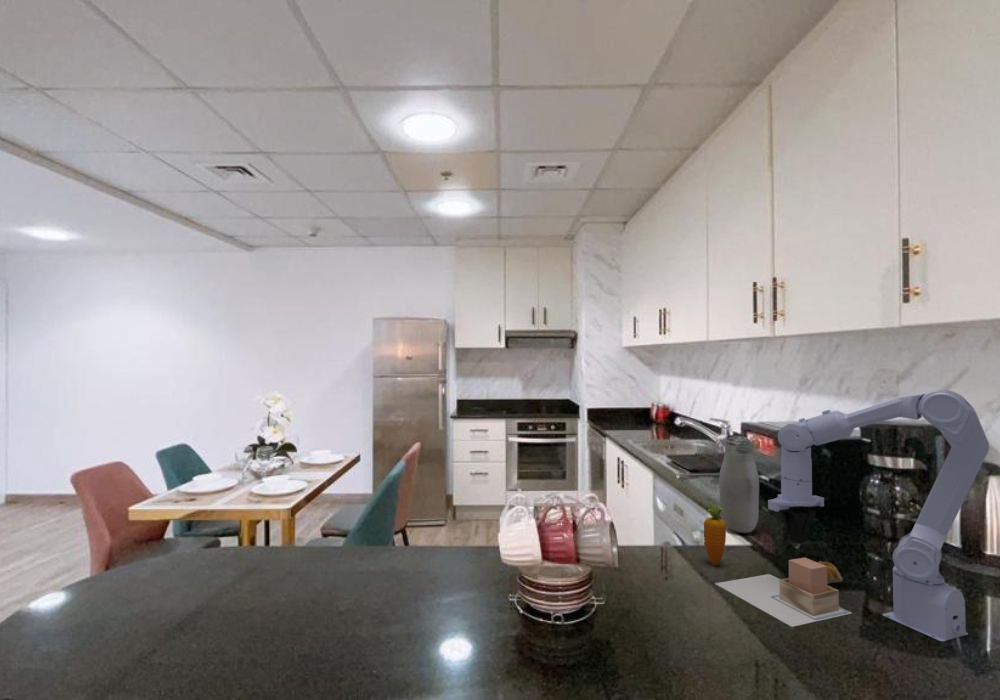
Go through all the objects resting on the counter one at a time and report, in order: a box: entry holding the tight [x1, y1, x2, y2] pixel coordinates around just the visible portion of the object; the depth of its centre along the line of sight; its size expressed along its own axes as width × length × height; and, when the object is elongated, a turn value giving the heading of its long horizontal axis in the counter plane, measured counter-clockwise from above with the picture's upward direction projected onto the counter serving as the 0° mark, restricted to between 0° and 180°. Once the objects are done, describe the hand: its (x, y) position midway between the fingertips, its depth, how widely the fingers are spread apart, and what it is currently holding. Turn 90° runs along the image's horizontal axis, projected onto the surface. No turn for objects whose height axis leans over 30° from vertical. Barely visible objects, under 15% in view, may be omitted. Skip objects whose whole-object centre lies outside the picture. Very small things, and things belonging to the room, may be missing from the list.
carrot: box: [703, 501, 727, 567], centre depth 111 cm, size 5×5×15 cm
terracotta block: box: [788, 557, 828, 595], centre depth 93 cm, size 5×5×5 cm
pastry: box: [817, 561, 844, 585], centre depth 105 cm, size 9×7×4 cm
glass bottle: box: [718, 435, 760, 534], centre depth 138 cm, size 10×10×28 cm
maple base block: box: [780, 577, 840, 616], centre depth 92 cm, size 7×7×4 cm
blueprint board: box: [714, 573, 852, 628], centre depth 95 cm, size 18×16×1 cm
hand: (796, 541), depth 101 cm, fingers closed
